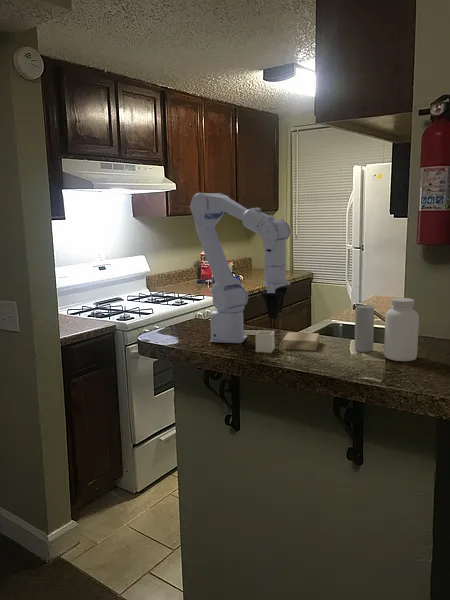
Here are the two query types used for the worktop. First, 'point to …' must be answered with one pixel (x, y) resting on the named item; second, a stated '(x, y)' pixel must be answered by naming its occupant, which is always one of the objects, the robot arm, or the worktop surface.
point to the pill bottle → (401, 330)
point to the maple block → (301, 341)
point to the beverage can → (364, 328)
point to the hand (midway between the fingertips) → (275, 315)
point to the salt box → (265, 341)
